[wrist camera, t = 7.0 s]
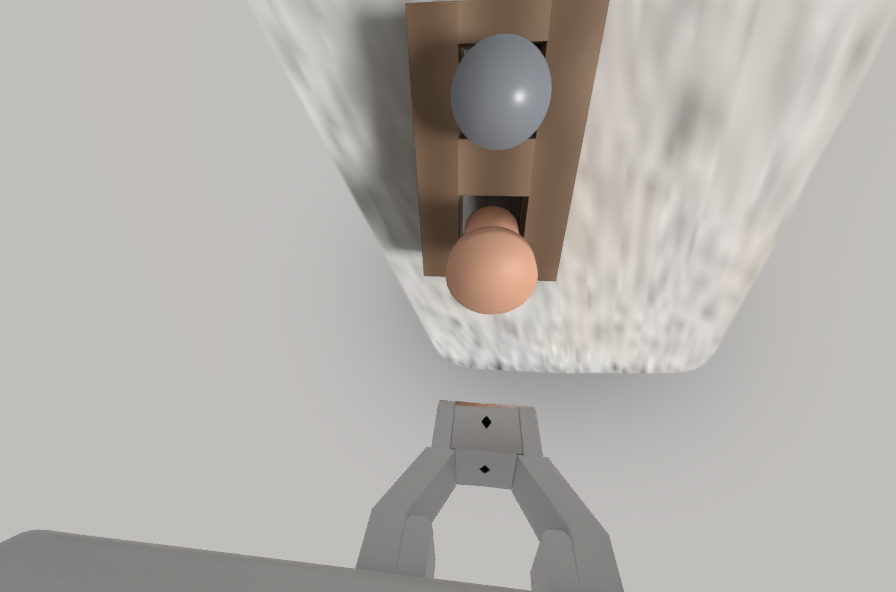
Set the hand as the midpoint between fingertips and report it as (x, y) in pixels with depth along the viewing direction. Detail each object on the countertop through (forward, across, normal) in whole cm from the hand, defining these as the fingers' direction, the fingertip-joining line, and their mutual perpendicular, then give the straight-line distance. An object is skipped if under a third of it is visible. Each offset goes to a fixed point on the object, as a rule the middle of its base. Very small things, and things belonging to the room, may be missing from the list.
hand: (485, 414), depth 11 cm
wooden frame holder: (+19, 0, -4) cm, 20 cm away
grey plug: (+18, 0, -8) cm, 20 cm away
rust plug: (+15, 0, 0) cm, 15 cm away
